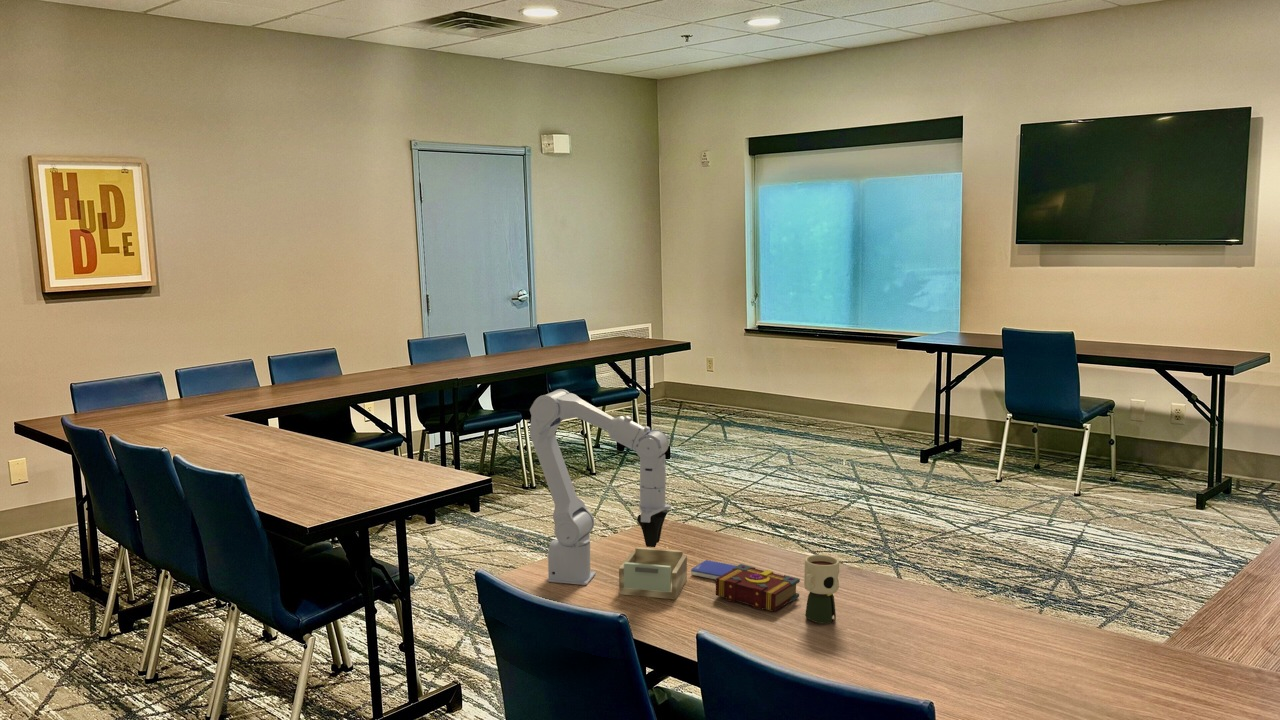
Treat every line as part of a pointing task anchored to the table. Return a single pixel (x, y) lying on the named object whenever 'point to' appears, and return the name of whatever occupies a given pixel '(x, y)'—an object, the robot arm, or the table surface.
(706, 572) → the hard drive
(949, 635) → the table surface
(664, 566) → the panel
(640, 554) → the crate
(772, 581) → the decorative book
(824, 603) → the character mug
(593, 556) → the table surface
